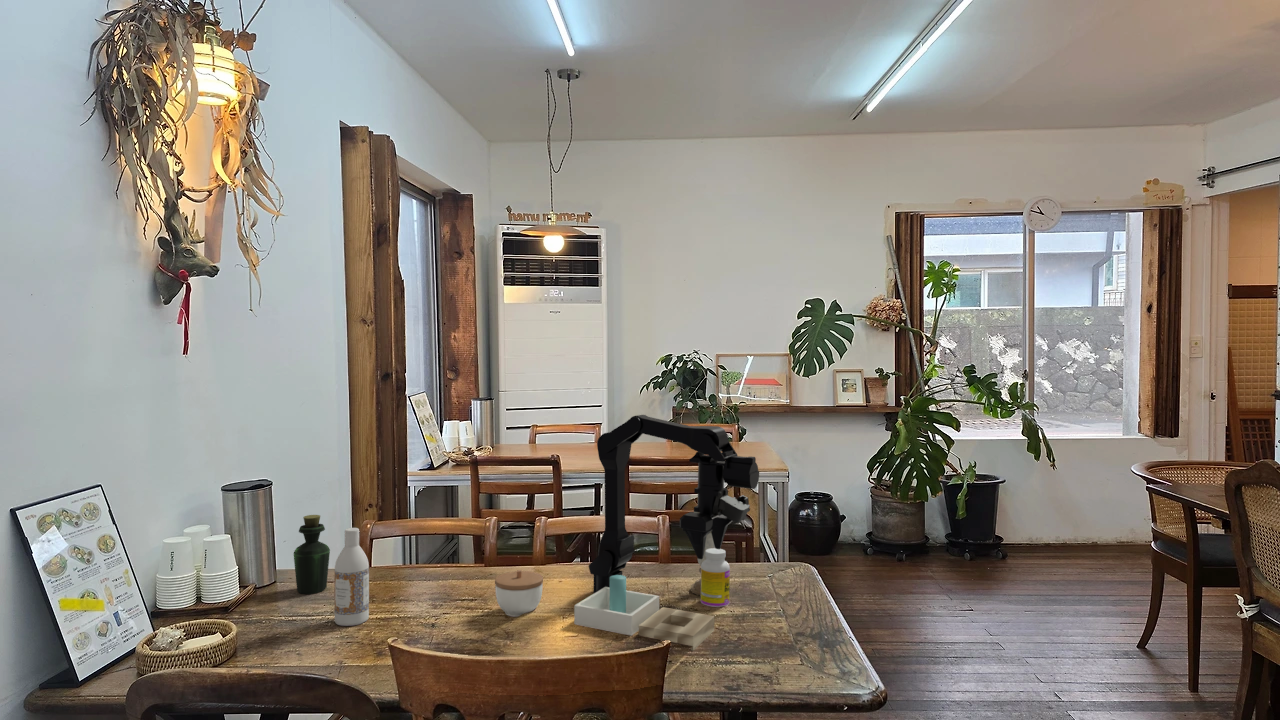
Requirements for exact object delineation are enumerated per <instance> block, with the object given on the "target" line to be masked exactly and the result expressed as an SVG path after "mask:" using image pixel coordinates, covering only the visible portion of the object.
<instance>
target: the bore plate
mask: <svg viewBox="0 0 1280 720" xmlns="http://www.w3.org/2000/svg"><path fill="white" fill-rule="evenodd" d="M714 631H715V615H710V614H705V613H700V612H693V611H688V610H681V609H677V608H669V607H661V608H659V610H658V611H657V612H656V613H654V614H653V615H652V616H650V617H649V618H648V619H647V620H645V621H644V622H643V623H641V624H640V625H639V630H638V636H639V637H643V638H644V637H645V638H650V639H655V640H660V641H664V640H670V641H671V642H670V643H675V644H680V645H684V646H685V645H686V646H689V647H691V648H690V649H689V651H691V652H694V651H695V650H696V649H697V648H698V647H699V646H700V645H701V644H702V643H703V642H704V641H705V640H706V639H707V638H709V636H710V635H711V634H712V633H713V632H714Z"/></svg>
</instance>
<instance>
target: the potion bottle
mask: <svg viewBox="0 0 1280 720" xmlns="http://www.w3.org/2000/svg"><path fill="white" fill-rule="evenodd" d="M302 519H303V522H304V524H303V525H301V526H300V527H299V529H298V533H299V534H300V533H301V534H303V538H304V540H305V541H304V543H302V544H300V545H299V546H297V547H296V548H295V550H294V551H293V554H292V555H293V562H294V572H295V573H294V574H295V582H296V591H297V592H298V593H299V594H302V595H313V594H318V593H322V592H323V591H325V590H326V589H327V584H328V575H329V564H330V551H331V549H330V547H329V546H328V544H327V543H324V542H321V541H319V539H320V536H321V533H322V532H324V531H325V530H326V528H325V525H324V524H323V523H320V519H321V515H320V514H307V515H305V516H303V518H302Z"/></svg>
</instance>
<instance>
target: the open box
mask: <svg viewBox="0 0 1280 720" xmlns="http://www.w3.org/2000/svg"><path fill="white" fill-rule="evenodd" d="M609 601H610V588H609V587H604V588H603V589H601V590H599V591H598V592H596V593H593V594H591V595H589V596H587V597H585V599H583V600H581V601H580V602H577V603H576V604H574V614H573V615H574V617H573V618H574V625H577V626H582V627H586V628H592V629H596V630H597V629H598V630H601V631H607V632H612V633H617V634H621V635H626V636H630V637H632V636H634V635H635V634H636V633H638V632H639V625H640V624H641V623H643V622H644V621H645V620H647V619H648V618H649V617H650V616H652V615H653V614H654V613H656V612H657V611H658V610H660V595H656V594H650V593H643V592H638V591H633V590H627V589H626V613H622V612H616V611H611V610H609Z"/></svg>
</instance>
